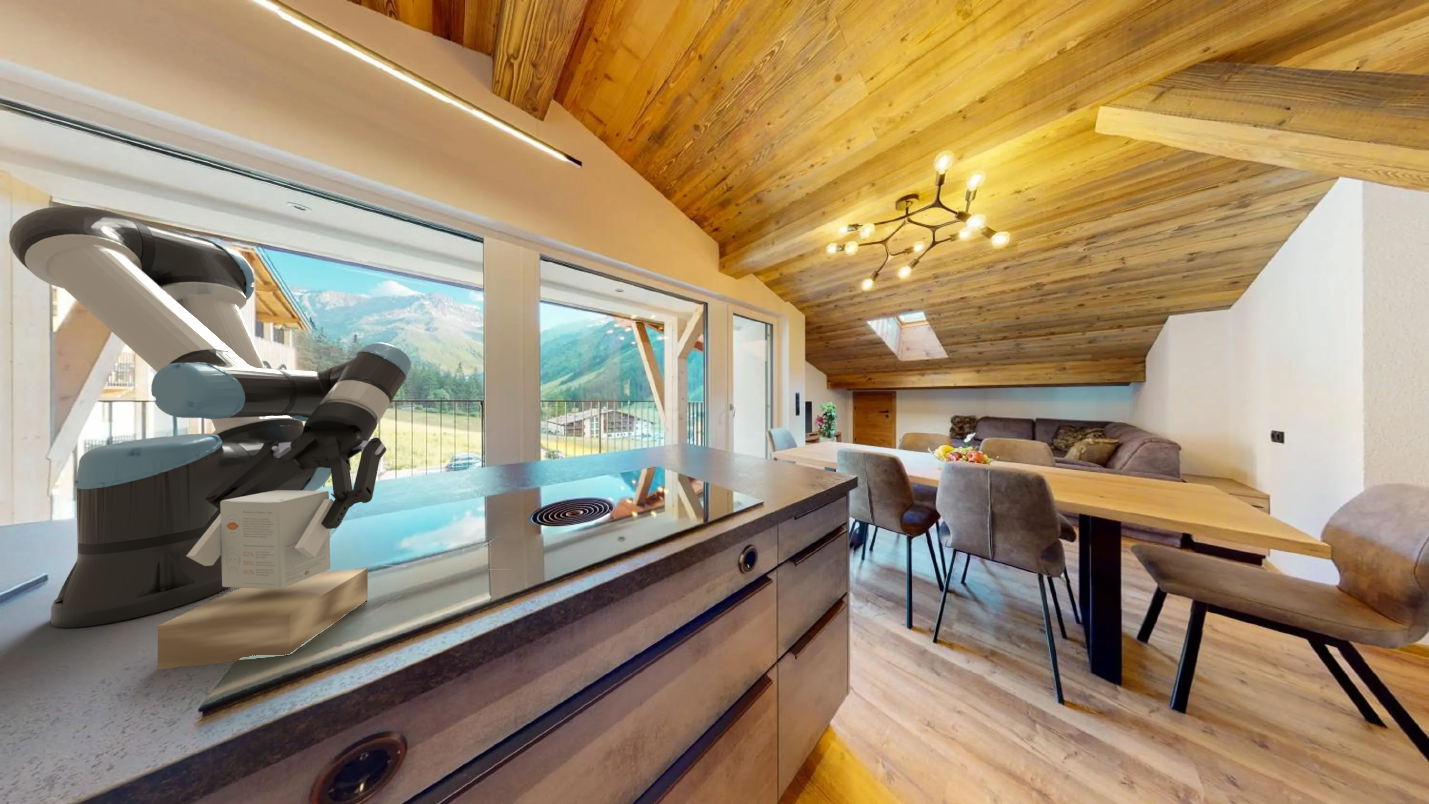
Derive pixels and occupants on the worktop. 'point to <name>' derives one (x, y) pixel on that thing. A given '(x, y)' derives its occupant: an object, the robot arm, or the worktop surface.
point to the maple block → (260, 620)
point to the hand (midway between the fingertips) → (253, 556)
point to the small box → (269, 539)
